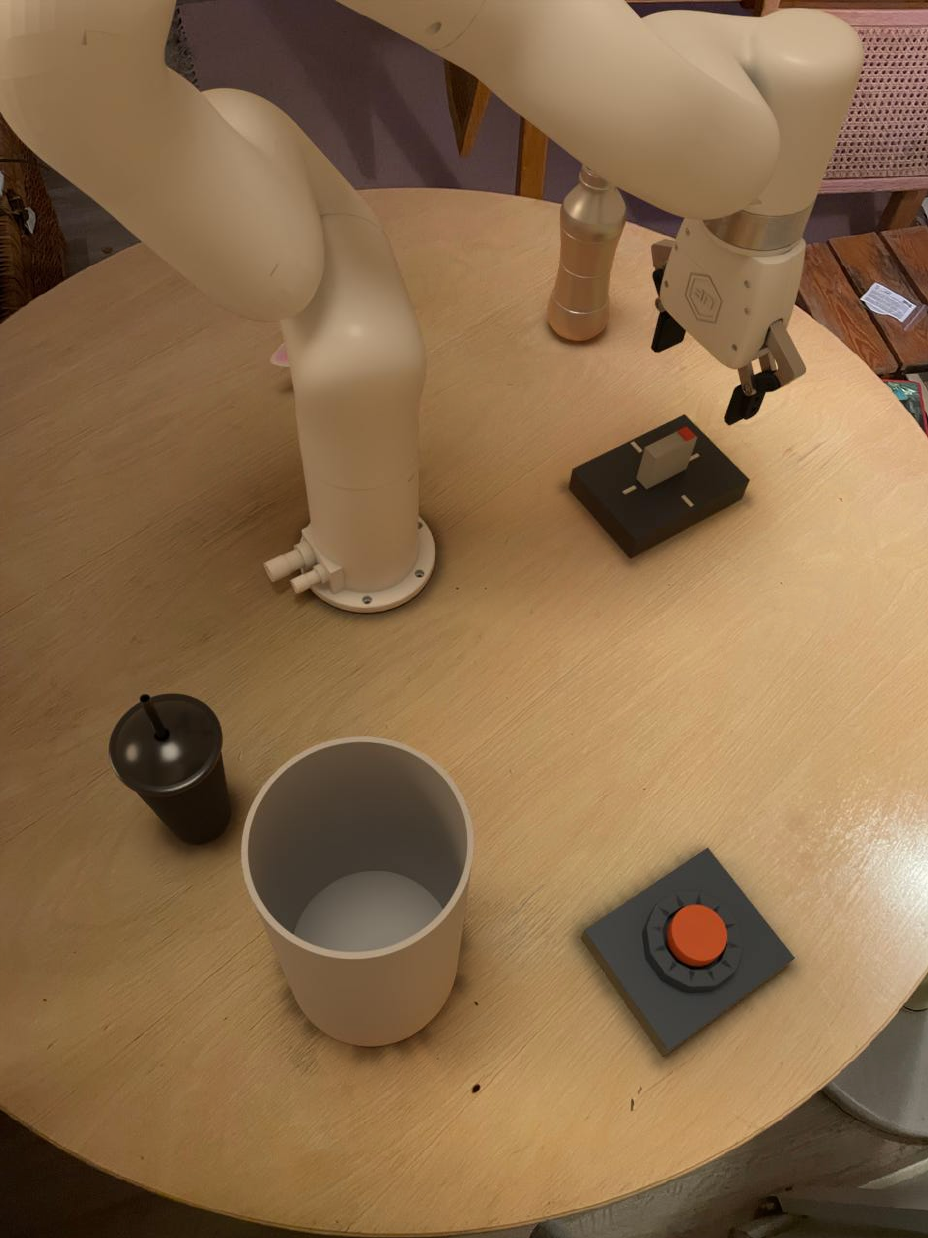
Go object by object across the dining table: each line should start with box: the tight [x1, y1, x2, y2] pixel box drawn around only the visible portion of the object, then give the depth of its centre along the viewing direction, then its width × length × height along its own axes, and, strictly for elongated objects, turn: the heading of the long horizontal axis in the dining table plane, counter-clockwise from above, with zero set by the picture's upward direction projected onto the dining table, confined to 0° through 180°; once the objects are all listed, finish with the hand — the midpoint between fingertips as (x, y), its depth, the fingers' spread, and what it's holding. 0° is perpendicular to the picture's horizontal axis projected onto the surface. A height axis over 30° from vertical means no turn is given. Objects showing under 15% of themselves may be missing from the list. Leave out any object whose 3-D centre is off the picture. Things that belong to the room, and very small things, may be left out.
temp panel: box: [568, 413, 751, 560], centre depth 101 cm, size 14×10×3 cm
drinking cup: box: [108, 692, 232, 845], centre depth 74 cm, size 8×8×20 cm
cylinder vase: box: [240, 735, 475, 1047], centre depth 67 cm, size 12×12×25 cm
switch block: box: [580, 847, 796, 1057], centre depth 77 cm, size 12×10×4 cm
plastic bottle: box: [547, 163, 628, 342], centre depth 106 cm, size 6×7×20 cm
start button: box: [667, 905, 727, 967], centre depth 75 cm, size 4×4×2 cm
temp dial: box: [636, 427, 697, 489], centre depth 97 cm, size 5×2×5 cm, turn 123°
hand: (702, 380), depth 88 cm, fingers open, 9 cm apart
